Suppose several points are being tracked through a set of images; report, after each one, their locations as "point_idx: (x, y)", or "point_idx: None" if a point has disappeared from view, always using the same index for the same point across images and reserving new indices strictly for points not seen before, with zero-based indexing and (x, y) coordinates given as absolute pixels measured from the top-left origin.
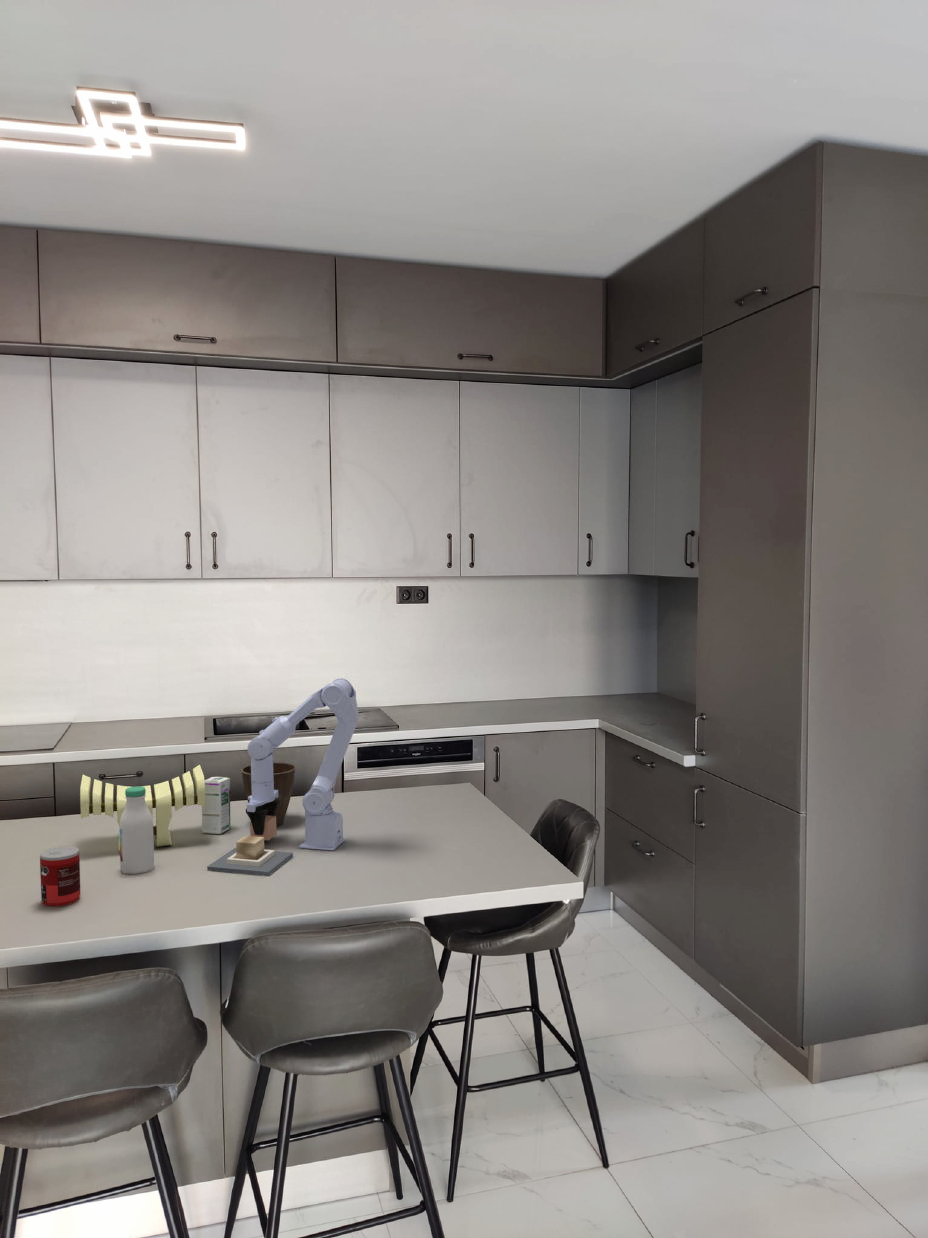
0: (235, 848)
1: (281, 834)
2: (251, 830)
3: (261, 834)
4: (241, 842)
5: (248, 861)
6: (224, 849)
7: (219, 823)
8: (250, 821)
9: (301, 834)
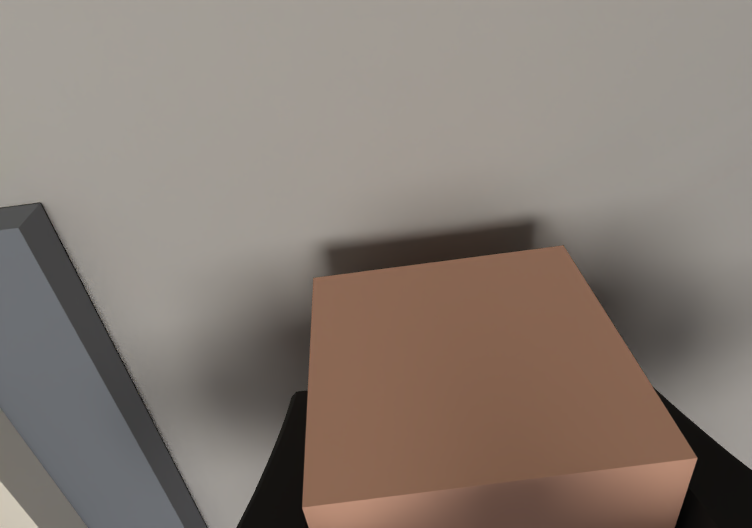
0: (4, 246)
1: (736, 308)
2: (312, 374)
3: None
4: None
5: None
6: (11, 9)
7: None
8: (304, 493)
9: (733, 434)
